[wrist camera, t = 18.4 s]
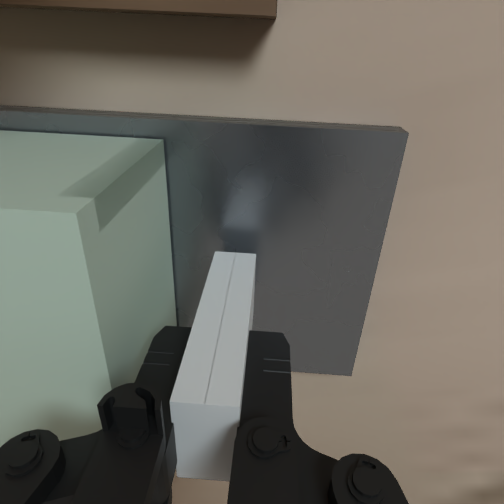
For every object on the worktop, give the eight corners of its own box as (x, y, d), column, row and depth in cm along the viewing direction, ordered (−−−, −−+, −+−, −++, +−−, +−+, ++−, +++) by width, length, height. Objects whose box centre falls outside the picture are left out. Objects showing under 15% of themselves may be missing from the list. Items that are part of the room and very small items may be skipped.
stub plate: (-156, 97, 14) (-280, 112, 11) (400, 126, 13) (437, 152, 10) (-50, 329, 19) (-113, 384, 16) (347, 360, 18) (361, 423, 15)
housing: (-41, 127, 13) (-274, 191, 7) (163, 139, 13) (76, 213, 7) (30, 344, 18) (-80, 479, 12) (179, 356, 17) (133, 498, 12)
